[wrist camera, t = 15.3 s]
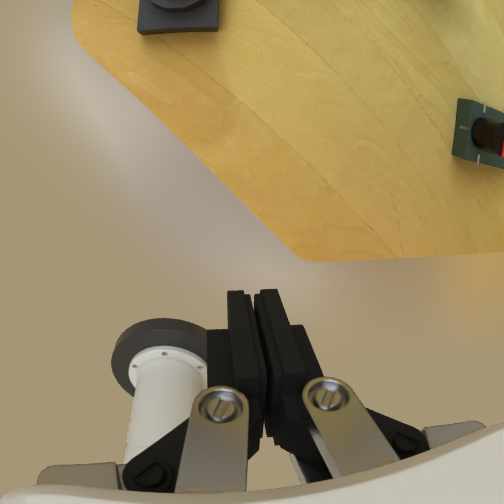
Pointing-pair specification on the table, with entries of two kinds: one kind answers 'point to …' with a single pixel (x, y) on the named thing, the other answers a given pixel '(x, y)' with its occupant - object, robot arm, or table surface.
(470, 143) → the dial panel
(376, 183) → the table surface
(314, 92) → the table surface
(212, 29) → the push button box
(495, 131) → the dial
